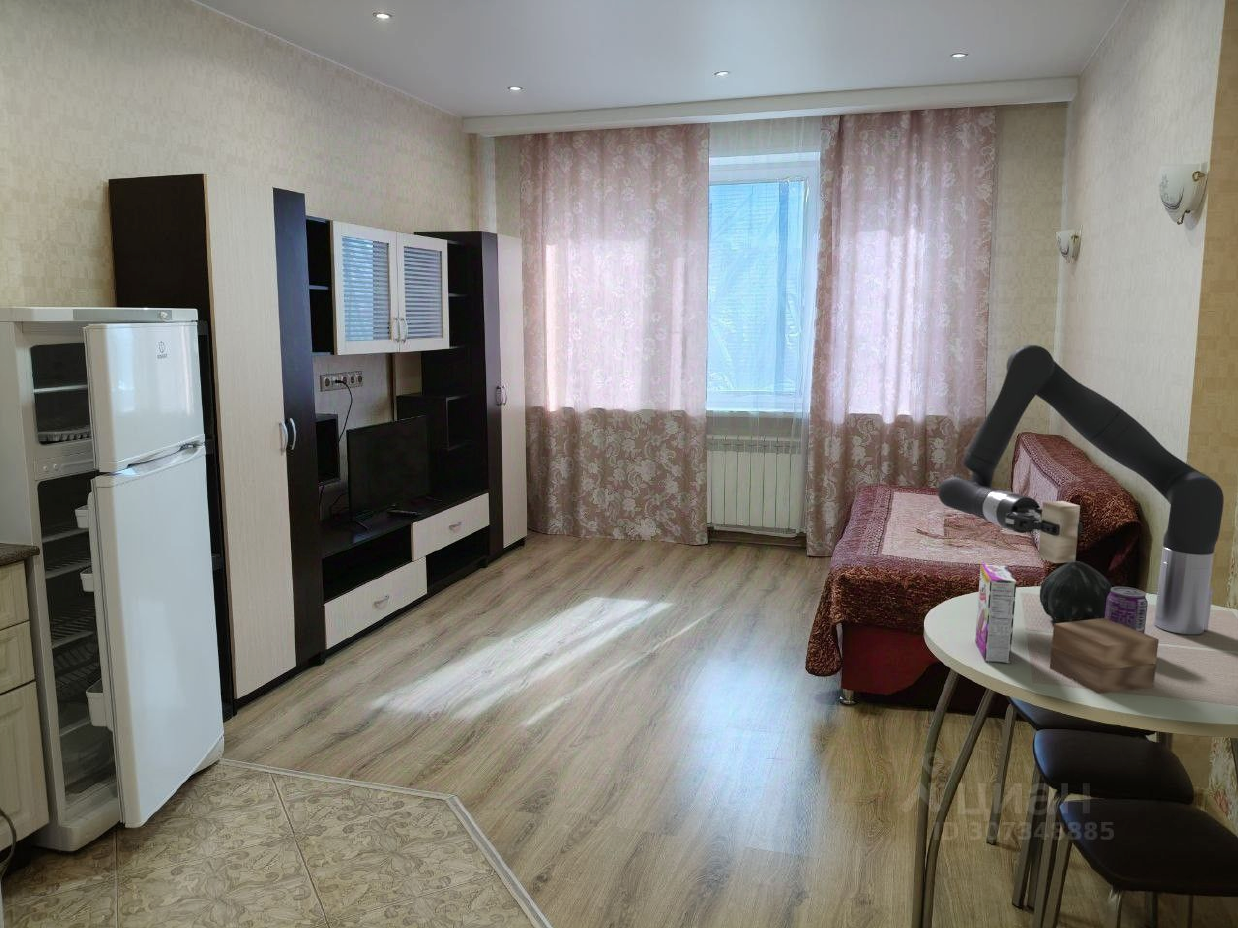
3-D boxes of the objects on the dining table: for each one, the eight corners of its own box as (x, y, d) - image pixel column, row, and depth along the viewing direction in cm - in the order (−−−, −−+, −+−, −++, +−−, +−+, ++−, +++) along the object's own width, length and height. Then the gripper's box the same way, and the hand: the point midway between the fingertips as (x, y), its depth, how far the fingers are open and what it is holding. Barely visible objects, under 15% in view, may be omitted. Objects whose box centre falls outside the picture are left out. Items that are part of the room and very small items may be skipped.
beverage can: (1138, 645, 187) (1145, 588, 185) (1145, 658, 181) (1152, 598, 179) (1099, 641, 190) (1105, 584, 188) (1104, 653, 183) (1111, 594, 181)
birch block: (1058, 555, 184) (1063, 500, 182) (1075, 561, 179) (1080, 505, 178) (1038, 556, 183) (1042, 501, 181) (1054, 563, 178) (1059, 506, 176)
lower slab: (1101, 663, 178) (1104, 641, 177) (1153, 688, 167) (1156, 664, 166) (1049, 669, 175) (1051, 646, 174) (1098, 695, 164) (1101, 670, 163)
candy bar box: (973, 641, 188) (979, 563, 185) (999, 644, 187) (1006, 564, 184) (982, 662, 177) (990, 578, 174) (1010, 664, 176) (1018, 580, 173)
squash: (1107, 589, 206) (1067, 540, 204) (1143, 614, 192) (1100, 561, 189) (1054, 628, 208) (1014, 580, 206) (1085, 656, 194) (1043, 604, 192)
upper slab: (1102, 640, 178) (1104, 617, 177) (1155, 663, 167) (1158, 639, 166) (1051, 646, 174) (1054, 623, 173) (1103, 670, 163) (1106, 645, 162)
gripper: (982, 494, 191) (1039, 512, 175) (1041, 491, 195) (1103, 508, 178) (979, 530, 192) (1036, 551, 176) (1038, 526, 196) (1099, 546, 180)
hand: (1069, 529), depth 177 cm, fingers closed on birch block, 4 cm apart
